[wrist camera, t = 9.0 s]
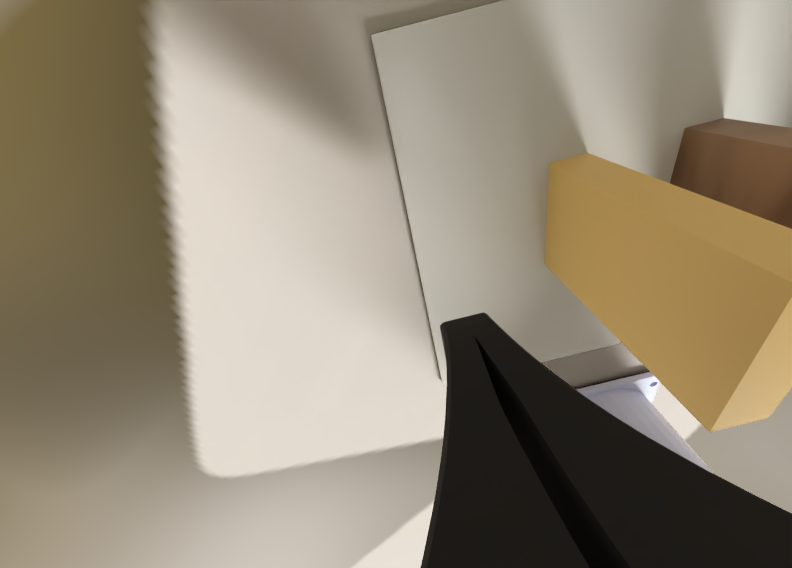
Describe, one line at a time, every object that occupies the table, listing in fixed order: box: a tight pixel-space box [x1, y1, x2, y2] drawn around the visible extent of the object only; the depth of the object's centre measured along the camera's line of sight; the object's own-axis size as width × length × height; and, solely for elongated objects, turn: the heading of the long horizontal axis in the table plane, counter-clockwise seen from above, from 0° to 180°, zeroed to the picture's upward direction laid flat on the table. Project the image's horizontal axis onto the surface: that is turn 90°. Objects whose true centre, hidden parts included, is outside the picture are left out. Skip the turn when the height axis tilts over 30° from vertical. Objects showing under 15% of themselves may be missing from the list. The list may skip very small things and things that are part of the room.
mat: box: [371, 0, 792, 386], centre depth 15 cm, size 18×33×1 cm, turn 102°
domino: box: [545, 153, 792, 432], centre depth 11 cm, size 5×2×9 cm, turn 12°
